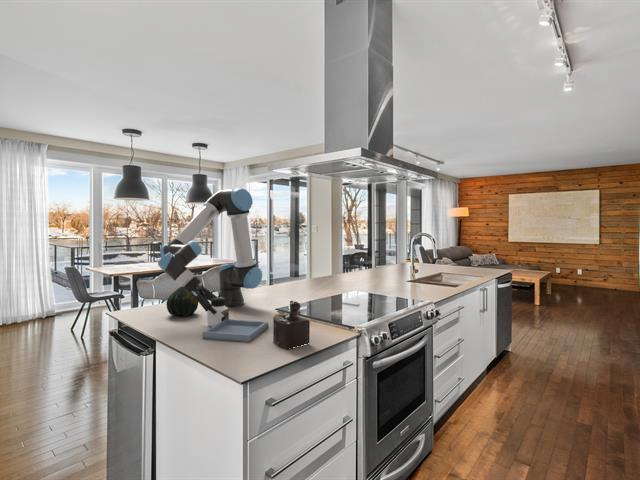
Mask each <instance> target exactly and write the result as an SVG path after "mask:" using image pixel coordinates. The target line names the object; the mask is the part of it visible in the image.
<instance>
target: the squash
mask: <svg viewBox="0 0 640 480" xmlns="http://www.w3.org/2000/svg"><path fill="white" fill-rule="evenodd" d="M192 293H193V292H192V291H191V292H190V293H187V292H186V291H185V290H184V289H183V287H181V286H179V287H178V288H176V289H175V290H173V292H172V293H171V294H170V295H169V296H168V298H167V300H166V304H165V305H166V309H167V312H168V313H169V314H170V316H173V317H174V316H175V317H177V316H179V315H180V316H181V315H182V316H183V317H185V318H186V317H188V316H191V315H194V313H196V310H198V307H199V302H198V301H197V300H196V298H195V297H194V296H193V295H192Z"/></svg>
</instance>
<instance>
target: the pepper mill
mask: <svg viewBox="0 0 640 480" xmlns="http://www.w3.org/2000/svg"><path fill="white" fill-rule="evenodd" d="M289 308H290V312H289V314H288V313H286V314H287V315H285V316H284V315H283V317H281V318H276V319H272V321H273V324H272V326H273V329H272V330H273V333H272V335H273V337H272V340H273V341H272V342H273V343H272V344H274V343H275V344H274V345H276V346H277V347H280V346H281V347H280V348H282V347H284V348H283V349H285V348H286V349H285V350H290V349H289V348H293V347H297V346H301V345H304V344H308V343H309V344H310V334H311V333H310V325H311V324H310V322H311V321H310V320H309V319H307V318H304V317H302V316H299V315H301V310H300V309H301V304H300V302H298V301H294V300H290V301H289Z"/></svg>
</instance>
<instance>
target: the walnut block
mask: <svg viewBox="0 0 640 480" xmlns="http://www.w3.org/2000/svg"><path fill="white" fill-rule="evenodd" d="M287 314H288V313H275V314H274V315H273V317H272V318H273V319H276V318H281V317H283V315H284V316H285V315H287ZM273 319H272V320H273Z"/></svg>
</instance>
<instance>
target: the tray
mask: <svg viewBox="0 0 640 480" xmlns="http://www.w3.org/2000/svg"><path fill="white" fill-rule="evenodd" d="M268 328H269V321H257V320H243V319H230V318H229V319H226V320H224V321H222V322H220V323H218V324H217V325H215V326H210V327H209V328H208V329H206V330H204V331H202V339H205V340H217V341H219V340H220V341H231V342H232V341H233V342H244V343H246V342H247V343H250V342H252V341H253V340H254V339H256V338H257V337H258V336H260V335H261V334H262V333H264V331H265V332H266V330H267V329H268Z"/></svg>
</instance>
